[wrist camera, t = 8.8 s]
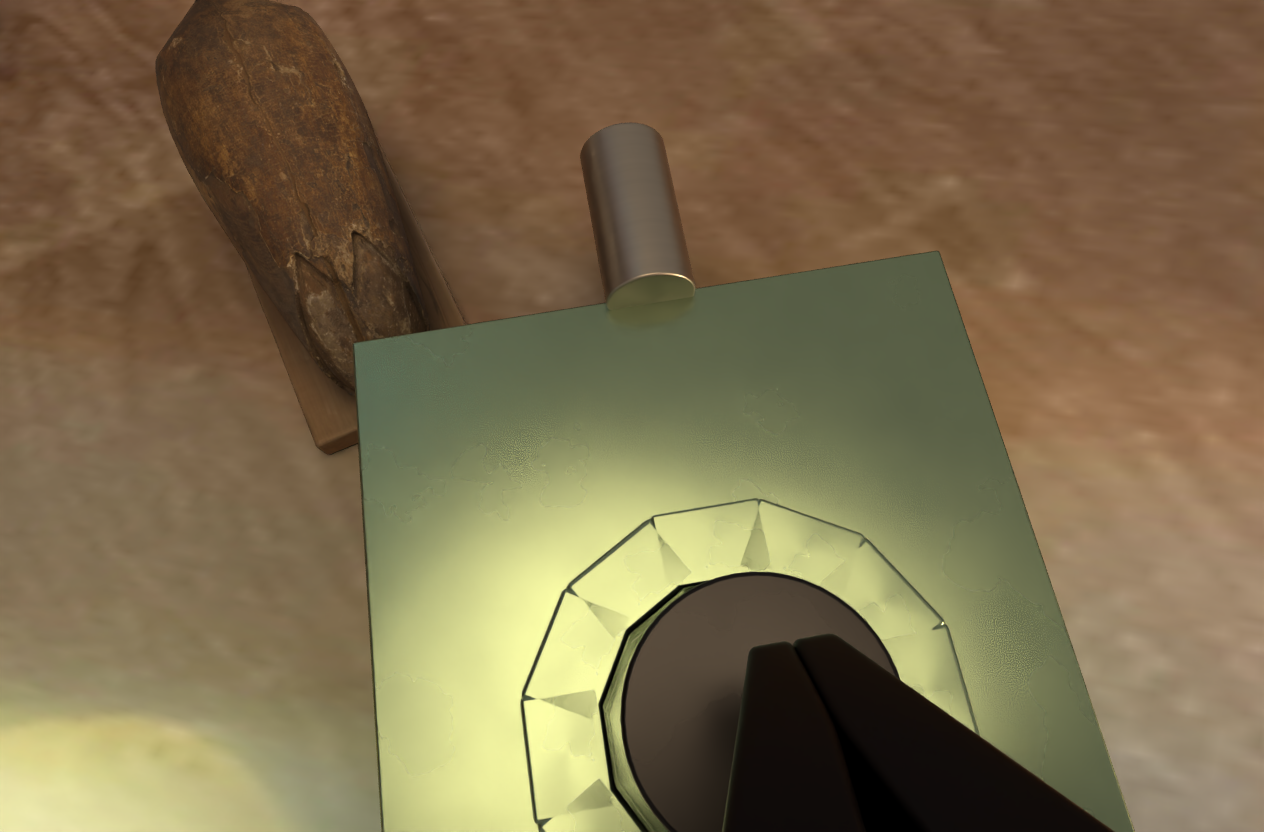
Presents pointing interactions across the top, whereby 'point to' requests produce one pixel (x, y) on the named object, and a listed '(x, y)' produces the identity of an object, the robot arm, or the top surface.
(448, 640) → the push button base
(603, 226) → the spout
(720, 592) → the black short cylinder
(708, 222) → the top surface
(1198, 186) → the top surface
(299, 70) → the figurine
